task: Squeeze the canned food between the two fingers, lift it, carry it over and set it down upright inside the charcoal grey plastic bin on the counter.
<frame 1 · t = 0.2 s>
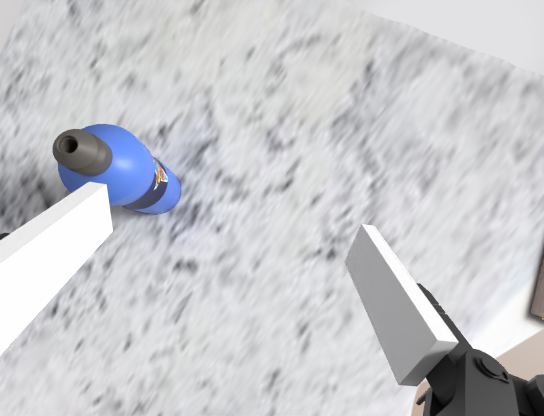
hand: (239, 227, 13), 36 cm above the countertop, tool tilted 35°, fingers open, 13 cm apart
water bottle: (156, 190, 47), on the countertop
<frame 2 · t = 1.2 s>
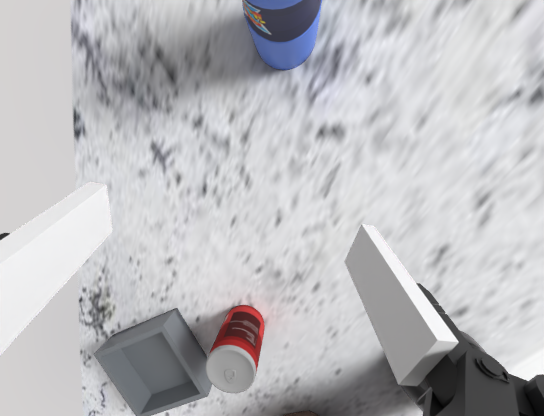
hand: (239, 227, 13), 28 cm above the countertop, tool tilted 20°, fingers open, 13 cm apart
bin: (164, 353, 50), on the countertop
water bottle: (285, 37, 36), on the countertop
canned food: (245, 321, 47), on the countertop
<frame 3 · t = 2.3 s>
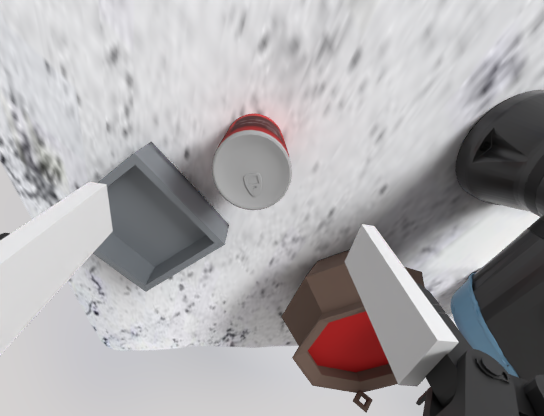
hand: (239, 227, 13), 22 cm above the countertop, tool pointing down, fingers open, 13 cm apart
bin: (155, 214, 38), on the countertop
brown cooking pot: (342, 279, 46), on the countertop
canned food: (255, 143, 33), on the countertop
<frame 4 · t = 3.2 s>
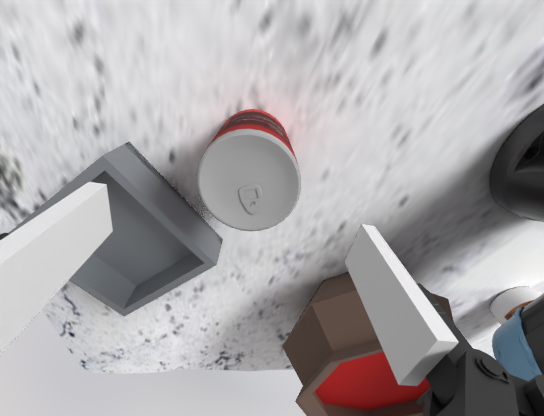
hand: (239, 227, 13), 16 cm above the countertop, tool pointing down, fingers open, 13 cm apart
bin: (135, 227, 32), on the countertop
milk bottle: (511, 299, 42), on the countertop
brown cooking pot: (351, 300, 41), on the countertop
canned food: (254, 145, 27), on the countertop
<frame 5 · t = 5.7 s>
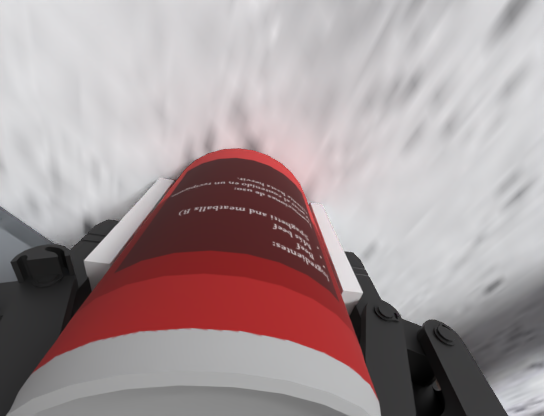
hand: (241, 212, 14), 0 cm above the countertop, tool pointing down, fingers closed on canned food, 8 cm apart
bin: (47, 330, 19), on the countertop
canned food: (242, 208, 15), on the countertop, touching gripper
when the fingers open (3 cm above the countertop, at t = 13.0 s): canned food drops 2 cm, resting on bin.
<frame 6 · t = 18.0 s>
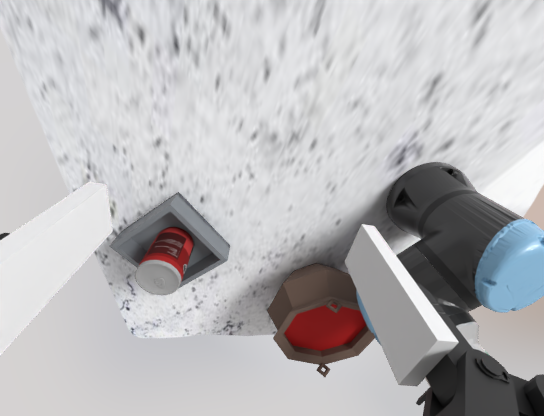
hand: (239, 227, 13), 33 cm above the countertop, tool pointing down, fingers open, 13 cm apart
bin: (177, 238, 53), on the countertop
brown cooking pot: (313, 283, 62), on the countertop
canned food: (176, 240, 52), point 1 cm above the countertop, touching bin
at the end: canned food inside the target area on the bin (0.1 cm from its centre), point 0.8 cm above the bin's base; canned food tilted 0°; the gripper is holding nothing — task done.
